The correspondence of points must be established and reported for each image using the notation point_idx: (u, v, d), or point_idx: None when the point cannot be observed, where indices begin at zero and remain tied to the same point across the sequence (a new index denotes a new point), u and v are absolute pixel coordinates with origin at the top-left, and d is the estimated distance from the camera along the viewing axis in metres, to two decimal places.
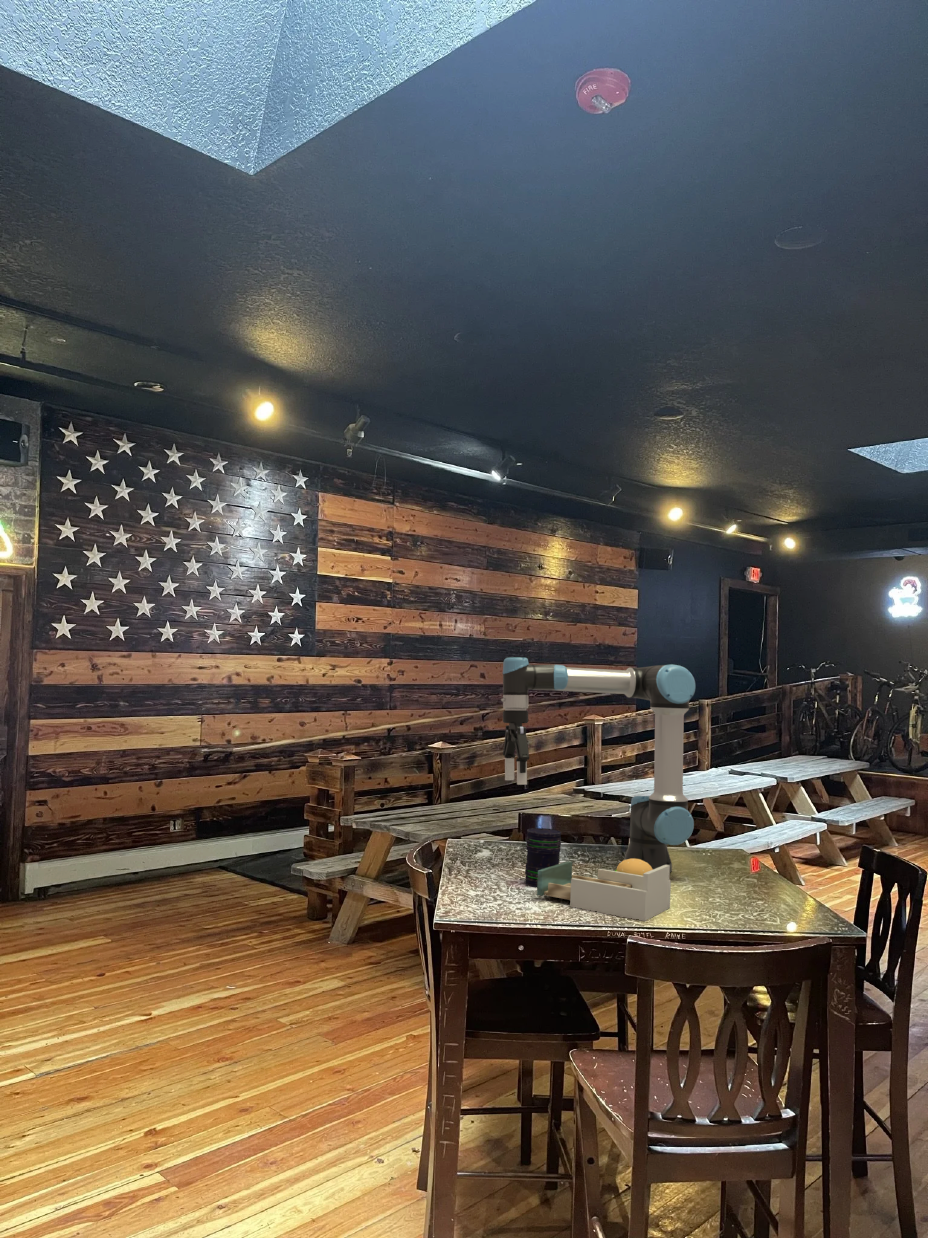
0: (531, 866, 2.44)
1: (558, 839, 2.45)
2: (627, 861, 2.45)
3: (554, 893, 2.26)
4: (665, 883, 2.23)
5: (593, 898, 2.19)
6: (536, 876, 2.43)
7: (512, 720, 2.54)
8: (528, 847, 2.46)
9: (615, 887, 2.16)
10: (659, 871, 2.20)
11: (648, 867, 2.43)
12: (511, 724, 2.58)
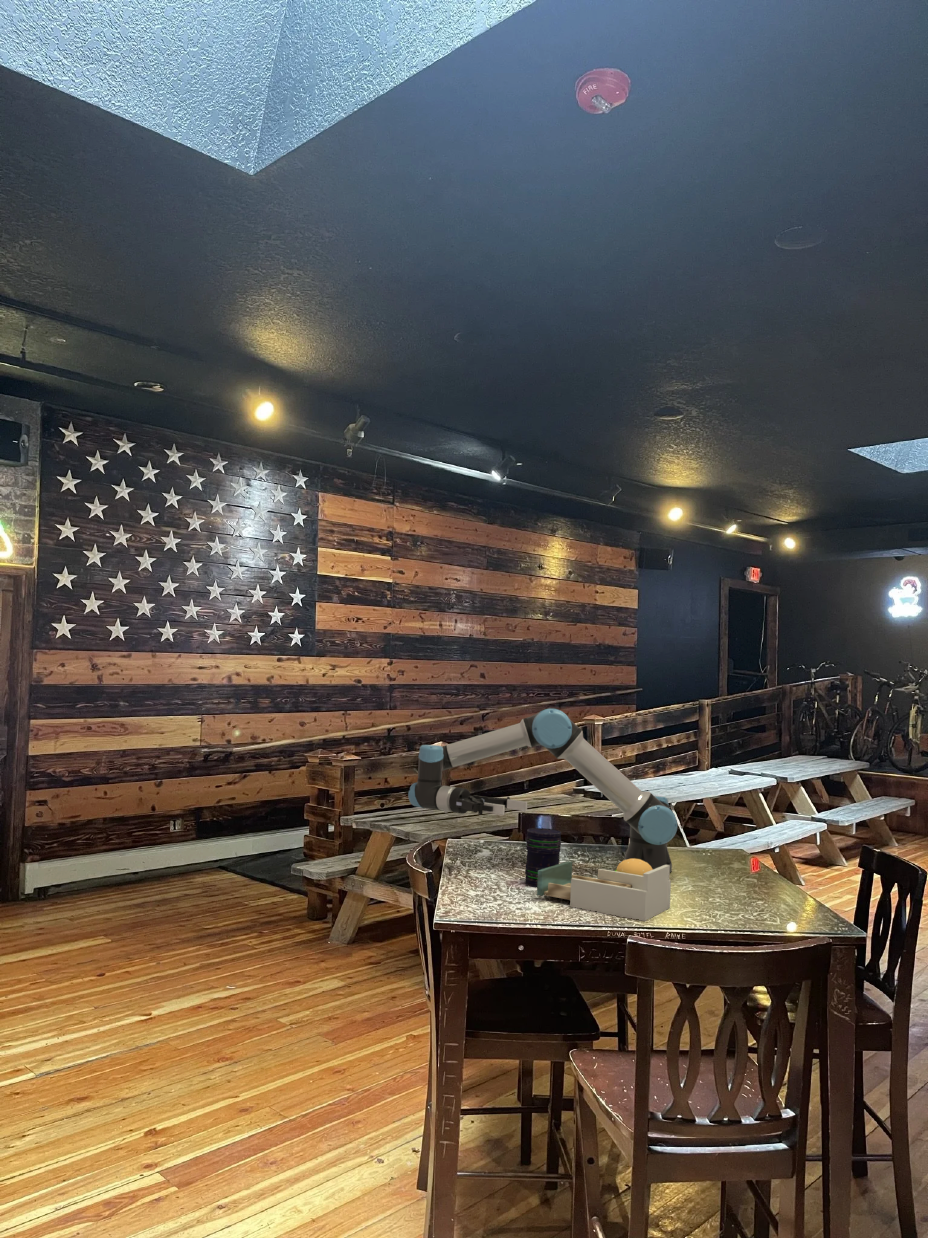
0: (531, 866, 2.44)
1: (558, 839, 2.45)
2: (627, 861, 2.45)
3: (554, 893, 2.26)
4: (665, 883, 2.23)
5: (593, 898, 2.19)
6: (536, 876, 2.43)
7: (456, 808, 2.61)
8: (528, 847, 2.46)
9: (615, 887, 2.16)
10: (659, 871, 2.20)
11: (648, 867, 2.43)
12: None
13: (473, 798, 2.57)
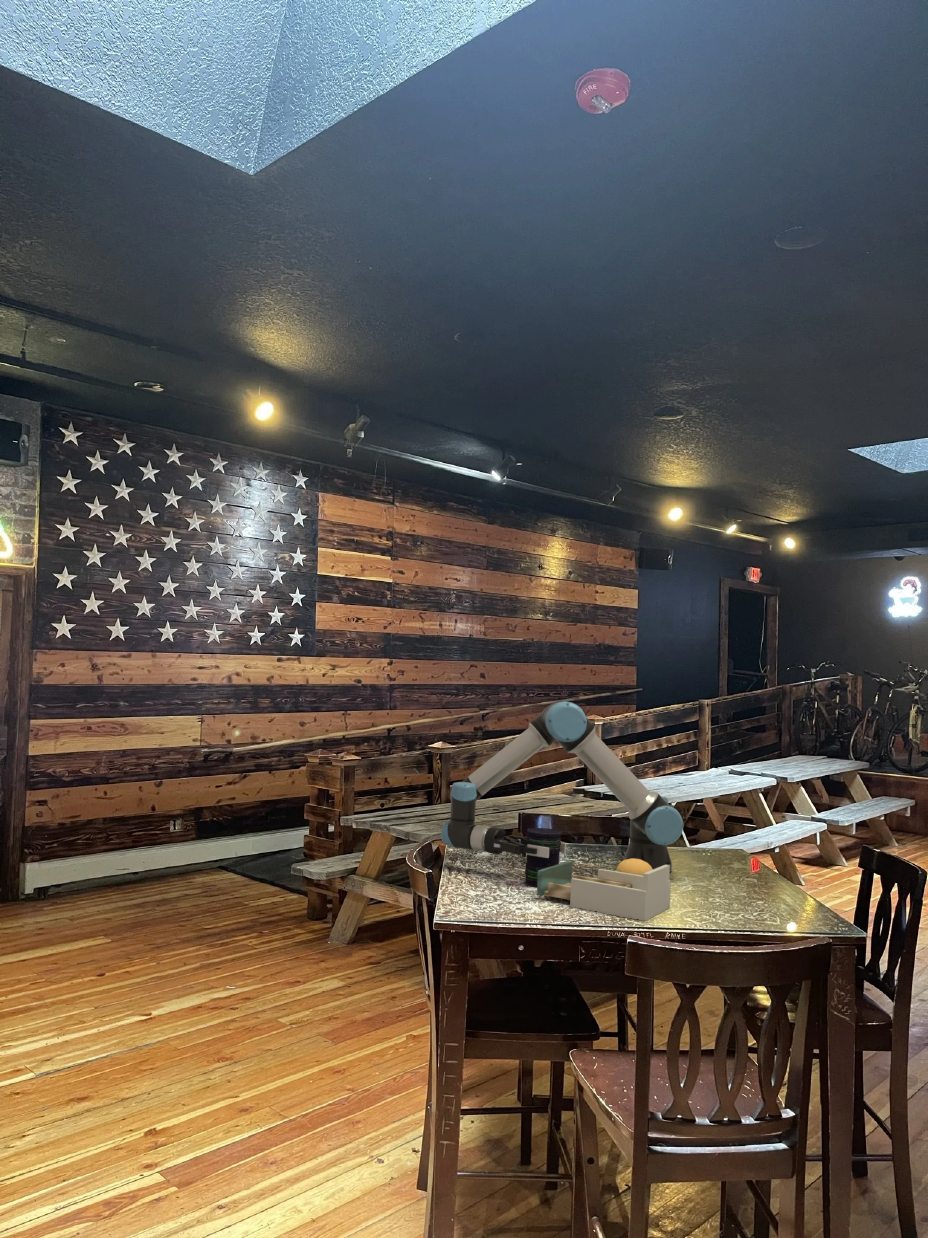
0: (531, 866, 2.44)
1: (558, 839, 2.45)
2: (627, 861, 2.45)
3: (554, 893, 2.26)
4: (665, 883, 2.23)
5: (593, 898, 2.19)
6: (536, 876, 2.43)
7: (492, 849, 2.53)
8: None
9: (615, 887, 2.16)
10: (659, 871, 2.20)
11: (648, 867, 2.43)
12: None
13: (511, 839, 2.50)
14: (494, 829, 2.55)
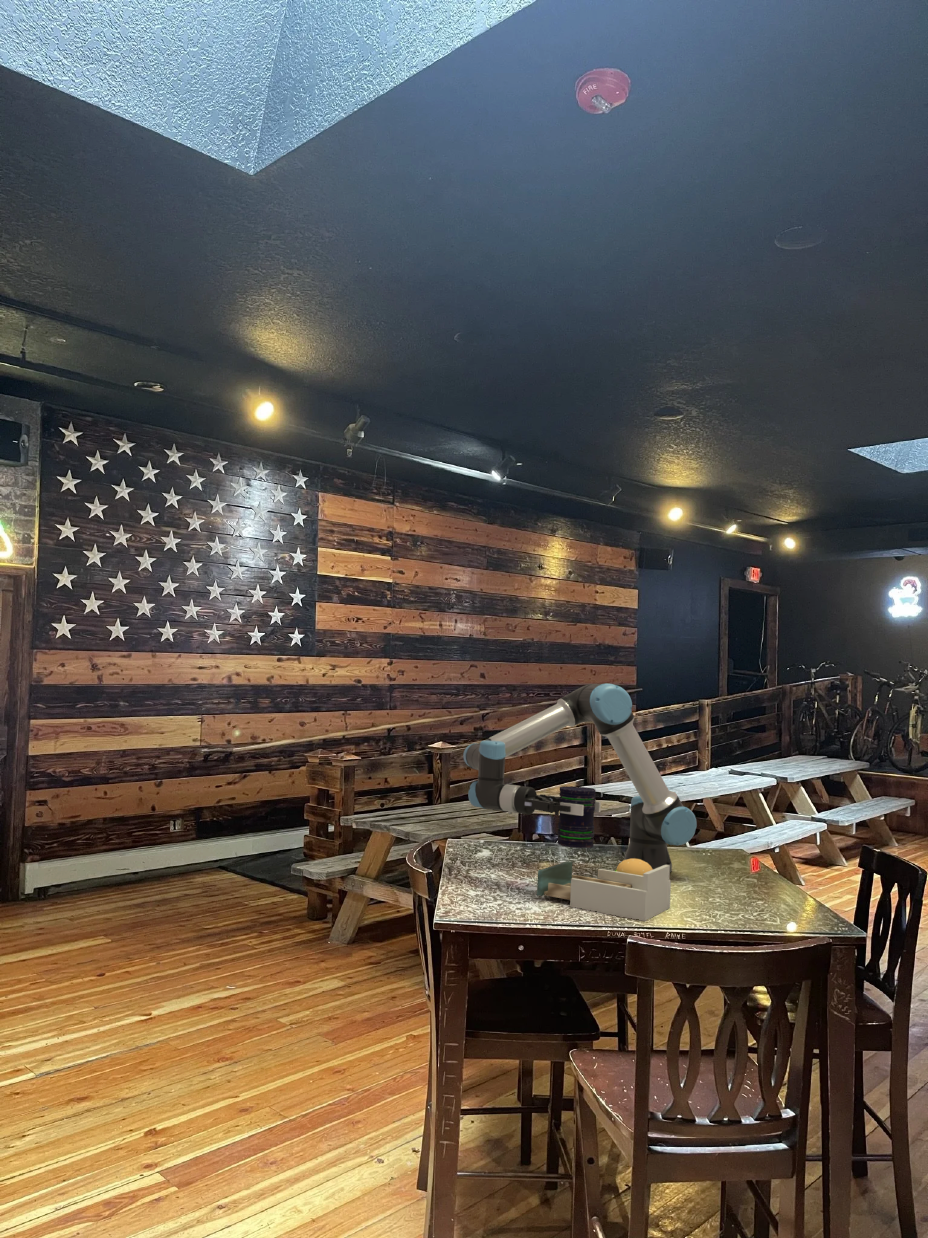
0: (564, 824, 2.31)
1: (592, 797, 2.32)
2: (627, 861, 2.45)
3: (554, 893, 2.26)
4: (665, 883, 2.23)
5: (593, 898, 2.19)
6: (569, 835, 2.30)
7: (522, 808, 2.40)
8: None
9: (615, 887, 2.16)
10: (659, 871, 2.20)
11: (648, 867, 2.43)
12: None
13: (543, 797, 2.37)
14: (524, 788, 2.42)
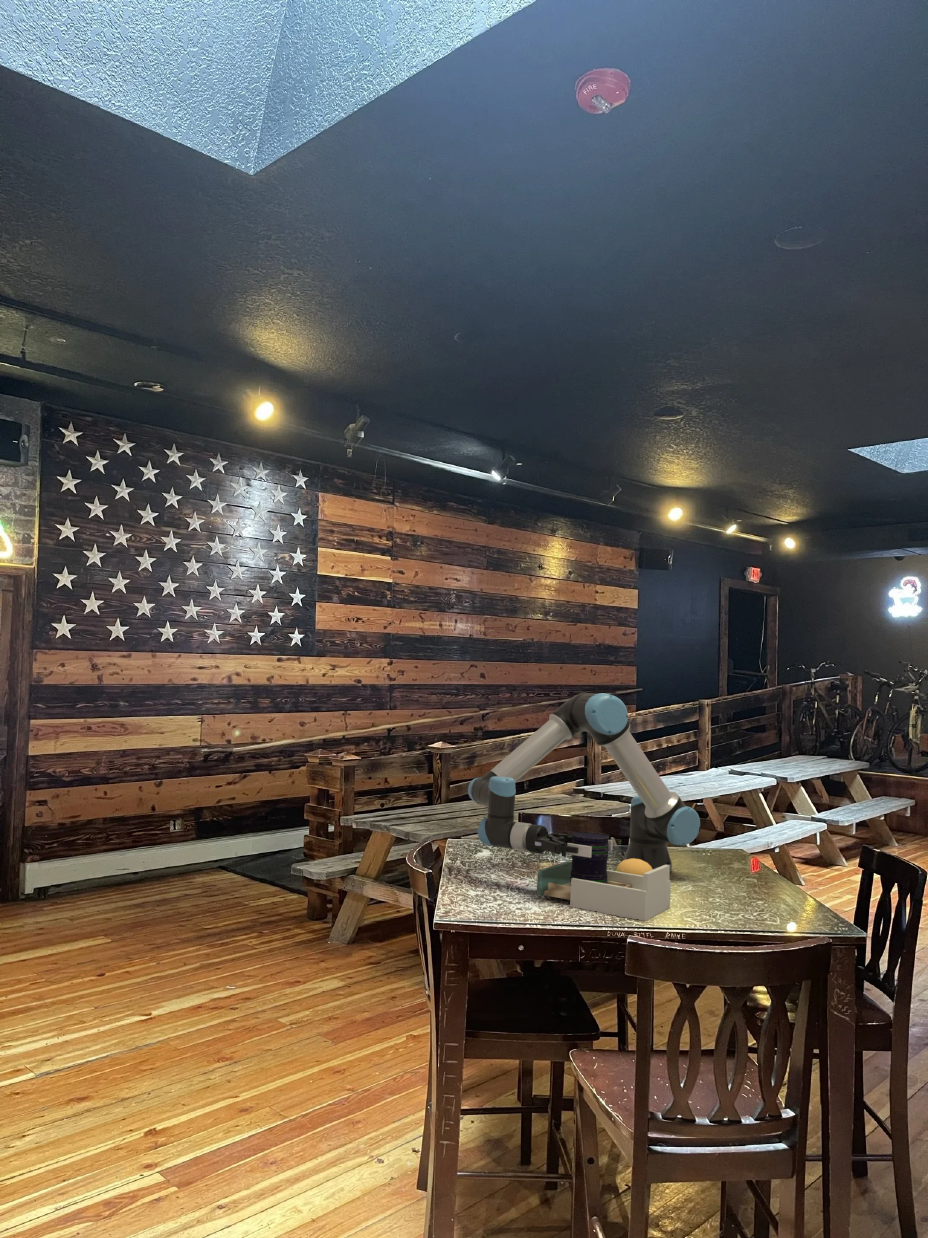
0: (577, 873, 2.27)
1: (606, 844, 2.28)
2: (627, 861, 2.45)
3: (554, 893, 2.26)
4: (665, 883, 2.23)
5: (593, 898, 2.19)
6: None
7: (534, 847, 2.35)
8: None
9: (615, 887, 2.16)
10: (659, 871, 2.20)
11: (648, 867, 2.43)
12: None
13: (553, 837, 2.32)
14: (536, 826, 2.38)
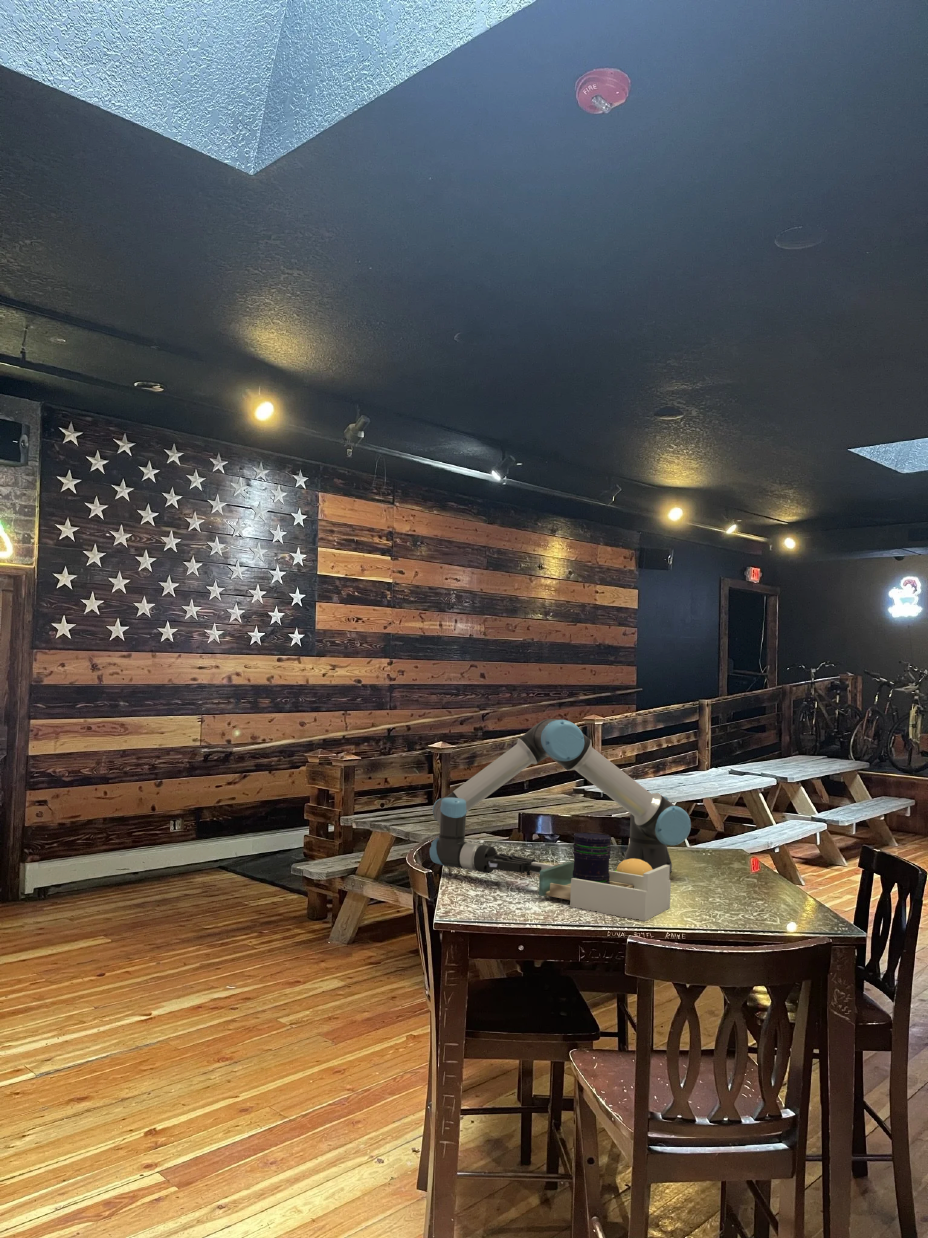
0: (579, 873, 2.26)
1: (608, 844, 2.27)
2: (627, 861, 2.45)
3: (556, 894, 2.26)
4: (665, 883, 2.23)
5: (593, 898, 2.19)
6: None
7: (482, 868, 2.43)
8: (576, 853, 2.28)
9: (615, 887, 2.16)
10: (659, 871, 2.20)
11: (648, 867, 2.43)
12: None
13: (507, 857, 2.41)
14: (484, 847, 2.45)
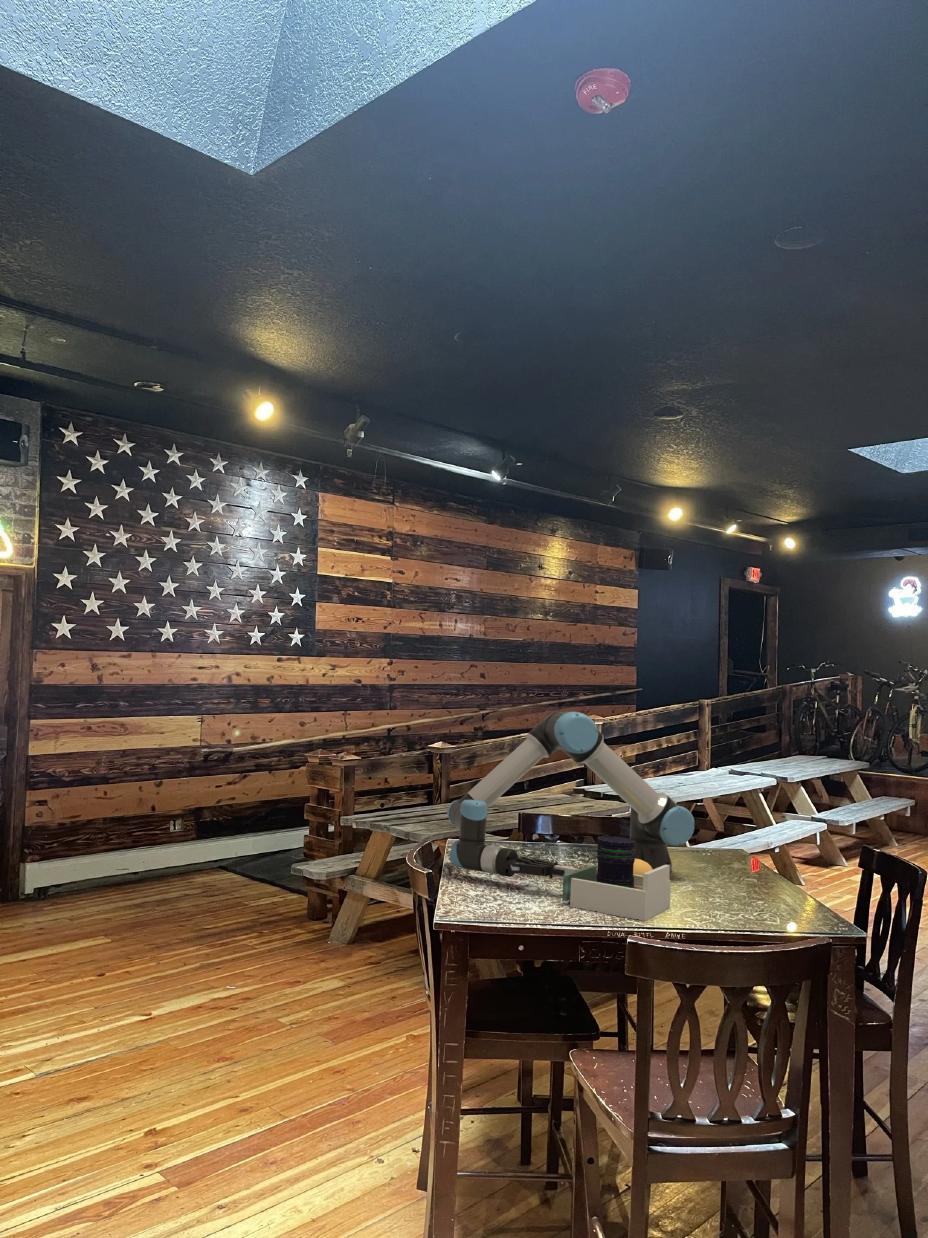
0: (603, 877, 2.23)
1: (633, 848, 2.24)
2: None
3: None
4: (665, 883, 2.23)
5: (593, 898, 2.19)
6: None
7: (503, 871, 2.40)
8: (600, 857, 2.24)
9: (615, 887, 2.16)
10: (659, 871, 2.20)
11: (648, 867, 2.43)
12: None
13: (529, 861, 2.38)
14: (506, 850, 2.42)
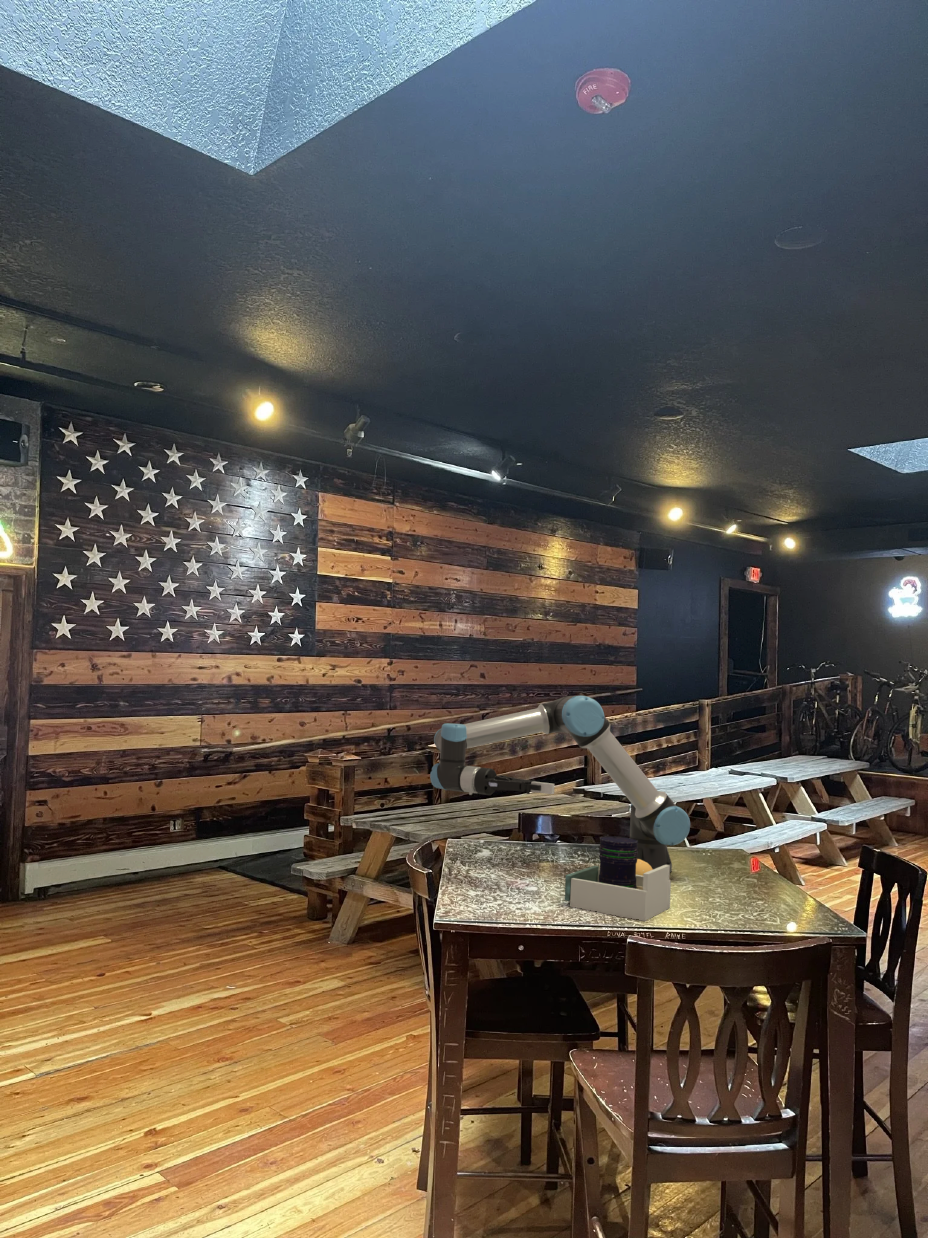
0: (606, 878, 2.22)
1: (635, 848, 2.23)
2: None
3: None
4: (665, 883, 2.23)
5: (593, 898, 2.19)
6: None
7: (482, 788, 2.46)
8: (602, 857, 2.24)
9: (615, 887, 2.16)
10: (659, 871, 2.20)
11: (648, 867, 2.43)
12: None
13: (507, 778, 2.44)
14: (484, 769, 2.48)
